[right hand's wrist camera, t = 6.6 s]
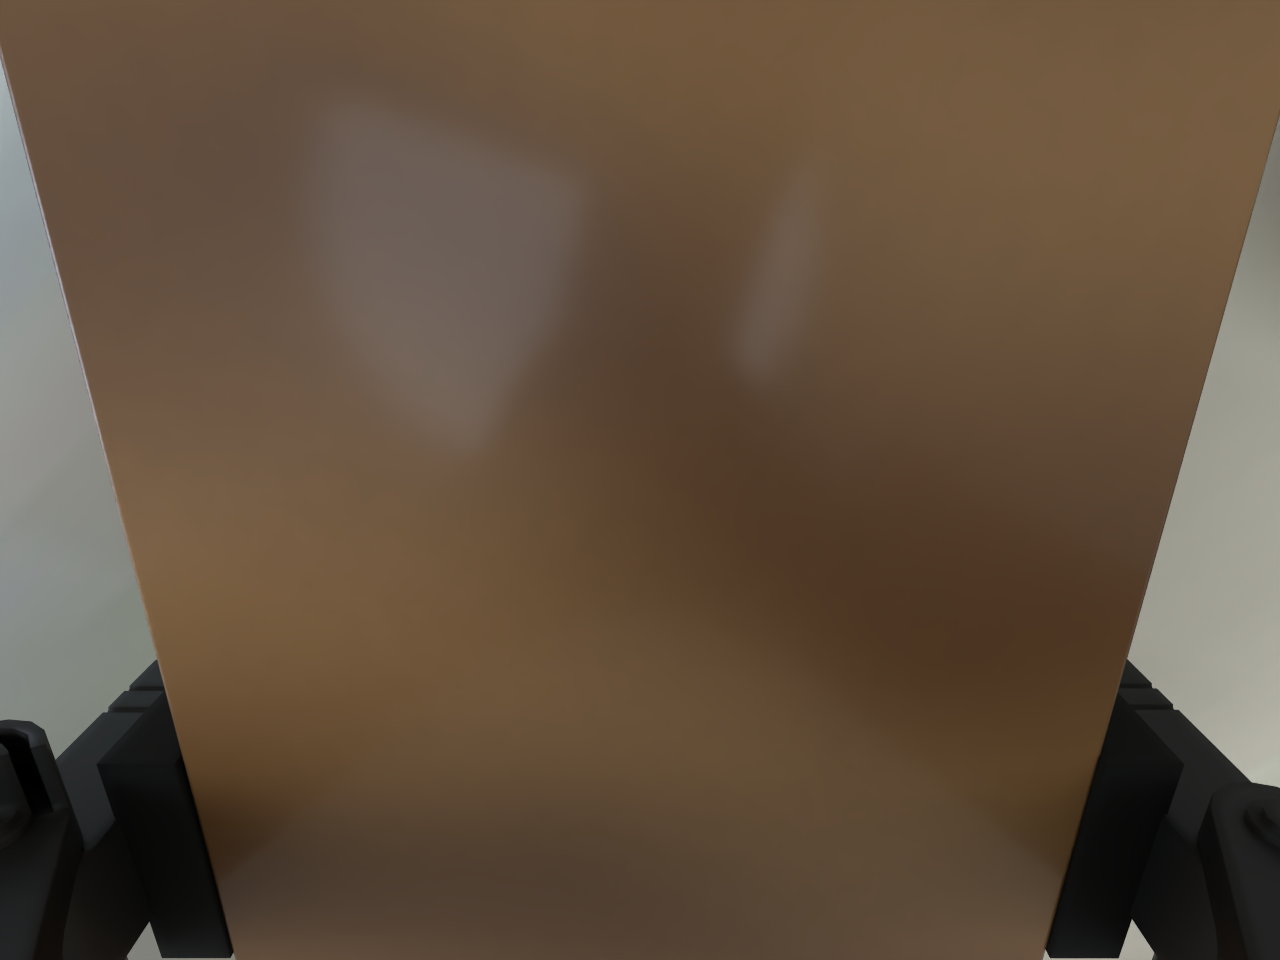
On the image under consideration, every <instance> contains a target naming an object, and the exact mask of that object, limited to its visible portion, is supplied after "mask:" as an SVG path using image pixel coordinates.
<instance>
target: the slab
mask: <svg viewBox="0 0 1280 960" xmlns="http://www.w3.org/2000/svg"><path fill="white" fill-rule="evenodd" d="M0 59H1V62H2V66H3V70H4V74H5V78H6V82H7V85H8V89H9V93H10V97H11V101H12V105H13V108H14V112H15V116H16V120H17V124H18V128H19V131H20V135H21V139H22V143H23V147H24V151H25V154H26V158H27V162H28V166H29V170H30V174H31V177H32V181H33V185H34V189H35V193H36V197H37V200H38V204H39V208H40V212H41V216H42V220H43V223H44V227H45V231H46V235H47V239H48V243H49V246H50V250H51V254H52V258H53V262H54V266H55V269H56V273H57V277H58V281H59V285H60V289H61V292H62V296H63V300H64V304H65V308H66V312H67V315H68V319H69V323H70V327H71V331H72V335H73V338H74V342H75V346H76V350H77V354H78V358H79V361H80V365H81V369H82V373H83V377H84V381H85V384H86V388H87V392H88V396H89V400H90V404H91V407H92V411H93V415H94V419H95V423H96V427H97V430H98V434H99V438H100V442H101V446H102V450H103V453H104V457H105V461H106V465H107V469H108V473H109V476H110V480H111V484H112V488H113V492H114V496H115V499H116V503H117V507H118V511H119V515H120V519H121V522H122V526H123V530H124V534H125V538H126V542H127V545H128V549H129V553H130V557H131V561H132V565H133V568H134V572H135V576H136V580H137V584H138V588H139V591H140V595H141V599H142V603H143V607H144V611H145V614H146V618H147V622H148V626H149V630H150V634H151V637H152V641H153V645H154V649H155V653H156V657H157V660H158V664H159V668H160V672H161V676H162V680H163V683H164V687H165V691H166V695H167V699H168V703H169V706H170V710H171V714H172V718H173V722H174V726H175V729H176V733H177V737H178V741H179V745H180V749H181V752H182V756H183V760H184V764H185V768H186V772H187V775H188V779H189V783H190V787H191V791H192V795H193V798H194V802H195V806H196V810H197V814H198V818H199V821H200V825H201V829H202V833H203V837H204V841H205V844H206V848H207V852H208V856H209V860H210V864H211V867H212V871H213V875H214V879H215V883H216V887H217V890H218V894H219V898H220V902H221V906H222V910H223V913H224V917H225V921H226V925H227V929H228V933H229V936H230V940H231V944H232V948H233V952H234V956H235V959H236V960H1043V956H1044V953H1045V949H1046V945H1047V942H1048V938H1049V935H1050V931H1051V928H1052V924H1053V920H1054V917H1055V913H1056V910H1057V906H1058V903H1059V899H1060V896H1061V892H1062V888H1063V885H1064V881H1065V878H1066V874H1067V871H1068V867H1069V863H1070V860H1071V856H1072V853H1073V849H1074V846H1075V842H1076V839H1077V835H1078V831H1079V828H1080V824H1081V821H1082V817H1083V814H1084V810H1085V806H1086V803H1087V799H1088V796H1089V792H1090V789H1091V785H1092V781H1093V778H1094V774H1095V771H1096V767H1097V764H1098V760H1099V756H1100V753H1101V749H1102V746H1103V742H1104V739H1105V735H1106V732H1107V728H1108V724H1109V721H1110V717H1111V714H1112V710H1113V707H1114V703H1115V699H1116V696H1117V692H1118V689H1119V685H1120V682H1121V678H1122V675H1123V671H1124V667H1125V664H1126V660H1127V657H1128V653H1129V650H1130V646H1131V642H1132V639H1133V635H1134V632H1135V628H1136V625H1137V621H1138V618H1139V614H1140V610H1141V607H1142V603H1143V600H1144V596H1145V593H1146V589H1147V585H1148V582H1149V578H1150V575H1151V571H1152V568H1153V564H1154V560H1155V557H1156V553H1157V550H1158V546H1159V543H1160V539H1161V536H1162V532H1163V528H1164V525H1165V521H1166V518H1167V514H1168V511H1169V507H1170V503H1171V500H1172V496H1173V493H1174V489H1175V486H1176V482H1177V478H1178V475H1179V471H1180V468H1181V464H1182V461H1183V457H1184V454H1185V450H1186V446H1187V443H1188V439H1189V436H1190V432H1191V429H1192V425H1193V421H1194V418H1195V414H1196V411H1197V407H1198V404H1199V400H1200V397H1201V393H1202V389H1203V386H1204V382H1205V379H1206V375H1207V372H1208V368H1209V364H1210V361H1211V357H1212V354H1213V350H1214V347H1215V343H1216V339H1217V336H1218V332H1219V329H1220V325H1221V322H1222V318H1223V315H1224V311H1225V307H1226V304H1227V300H1228V297H1229V293H1230V290H1231V286H1232V282H1233V279H1234V275H1235V272H1236V268H1237V265H1238V261H1239V258H1240V254H1241V250H1242V247H1243V243H1244V240H1245V236H1246V233H1247V229H1248V225H1249V222H1250V218H1251V215H1252V211H1253V208H1254V204H1255V200H1256V197H1257V193H1258V190H1259V186H1260V183H1261V179H1262V176H1263V172H1264V168H1265V165H1266V161H1267V158H1268V154H1269V151H1270V147H1271V143H1272V140H1273V136H1274V133H1275V129H1276V126H1277V122H1278V118H1279V115H1280V0H0Z"/></svg>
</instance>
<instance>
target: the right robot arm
mask: <svg viewBox="0 0 1280 960" xmlns="http://www.w3.org/2000/svg"><path fill="white" fill-rule="evenodd" d="M1132 919H1133V921H1134V922H1135V924H1136V925H1137V927H1138V928H1139V930H1140V931H1141V933H1142V934H1143V936H1144V938H1145V939H1146V941H1147V942H1148V944H1149V945H1150V947H1151V948H1152V950H1153V951H1154V956H1153V958H1152V960H1280V788H1278V787H1275V786H1269V785H1263V784H1257V783H1252V782H1251V781H1250V780H1249V779H1248V778H1247V777H1246V776H1245V775H1244V774H1243V773H1242V772H1241V771H1240V770H1239V769H1238V768H1237V767H1236V766H1235V765H1234V764H1232V763H1231V762H1230V761H1229V760H1228V759H1227V758H1226V757H1225V756H1224V755H1223V754H1222V753H1221V752H1220V751H1219V750H1218V749H1217V748H1216V747H1215V746H1214V745H1213V744H1212V743H1211V742H1210V741H1209V740H1208V739H1207V738H1206V737H1205V736H1204V735H1203V734H1202V733H1201V732H1200V731H1199V730H1198V729H1197V728H1196V727H1195V726H1194V725H1193V724H1192V723H1191V722H1190V721H1189V720H1188V719H1187V718H1186V717H1185V716H1184V715H1183V714H1182V713H1181V712H1180V711H1179V710H1174V709H1173V704H1172V703H1171V702H1170V701H1169V700H1168V699H1167V698H1166V697H1165V696H1164V695H1163V694H1162V693H1161V692H1160V691H1159V690H1158V689H1153V688H1152V683H1151V682H1150V681H1149V680H1148V679H1147V678H1146V677H1145V676H1144V675H1143V674H1142V673H1141V672H1140V671H1139V670H1138V669H1137V668H1136V667H1135V666H1134V665H1133V664H1132V663H1131V662H1130V661H1129V660H1128V659H1127V660H1126V664H1125V667H1124V671H1123V675H1122V678H1121V682H1120V685H1119V689H1118V692H1117V696H1116V699H1115V703H1114V707H1113V710H1112V714H1111V717H1110V721H1109V724H1108V728H1107V732H1106V735H1105V739H1104V742H1103V746H1102V749H1101V753H1100V756H1099V760H1098V764H1097V767H1096V771H1095V774H1094V778H1093V781H1092V785H1091V789H1090V792H1089V796H1088V799H1087V803H1086V806H1085V810H1084V814H1083V817H1082V821H1081V824H1080V828H1079V831H1078V835H1077V839H1076V842H1075V846H1074V849H1073V853H1072V856H1071V860H1070V863H1069V867H1068V871H1067V874H1066V878H1065V881H1064V885H1063V888H1062V892H1061V896H1060V899H1059V903H1058V906H1057V910H1056V913H1055V917H1054V920H1053V924H1052V928H1051V931H1050V935H1049V938H1048V942H1047V945H1046V951H1047V953H1048V955H1049V957H1050V958H1119V955H1120V952H1121V949H1122V947H1123V944H1124V941H1125V938H1126V935H1127V932H1128V929H1129V926H1130V923H1131V920H1132ZM149 921H150V924H151V927H152V930H153V933H154V936H155V939H156V942H157V945H158V948H159V950H160V953H161V956H162V958H231V956H232V954H233V948H232V944H231V940H230V936H229V933H228V929H227V925H226V921H225V917H224V913H223V910H222V906H221V902H220V898H219V894H218V890H217V887H216V883H215V879H214V875H213V871H212V867H211V864H210V860H209V856H208V852H207V848H206V844H205V841H204V837H203V833H202V829H201V825H200V821H199V818H198V814H197V810H196V806H195V802H194V798H193V795H192V791H191V787H190V783H189V779H188V775H187V772H186V768H185V764H184V760H183V756H182V752H181V749H180V745H179V741H178V737H177V733H176V729H175V726H174V722H173V718H172V714H171V710H170V706H169V703H168V699H167V695H166V691H165V687H164V683H163V680H162V676H161V672H160V668H159V664H158V660H155V661H154V662H153V663H152V664H151V665H150V666H149V667H148V668H147V669H146V670H145V671H144V672H143V673H142V674H141V675H140V676H139V677H138V678H137V679H136V680H135V681H134V682H133V683H132V684H131V685H130V689H129V691H124V692H123V693H122V694H121V695H120V696H119V697H118V698H117V699H116V700H115V701H114V702H113V703H112V704H111V705H110V706H109V710H108V712H107V713H102V714H101V715H100V716H99V717H98V718H97V719H96V720H95V721H94V722H93V723H92V724H91V725H90V726H89V727H88V728H87V729H86V730H85V731H84V732H83V733H82V734H81V735H80V736H79V737H78V738H77V739H76V740H75V741H74V742H73V743H72V744H71V745H70V746H69V747H68V748H67V749H66V750H65V751H64V752H63V753H62V754H61V755H60V756H59V757H58V758H57V759H56V760H55V758H54V755H53V752H52V750H51V747H50V744H49V741H48V739H47V736H46V733H45V731H44V729H42V728H40V727H39V726H37V725H36V724H34V723H33V722H31V721H19V720H2V721H0V960H128V958H127V955H128V953H129V952H130V950H131V949H132V947H133V945H134V944H135V942H136V941H137V939H138V938H139V936H140V935H141V933H142V932H143V930H144V929H145V927H146V926H147V924H148V923H149Z"/></svg>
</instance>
